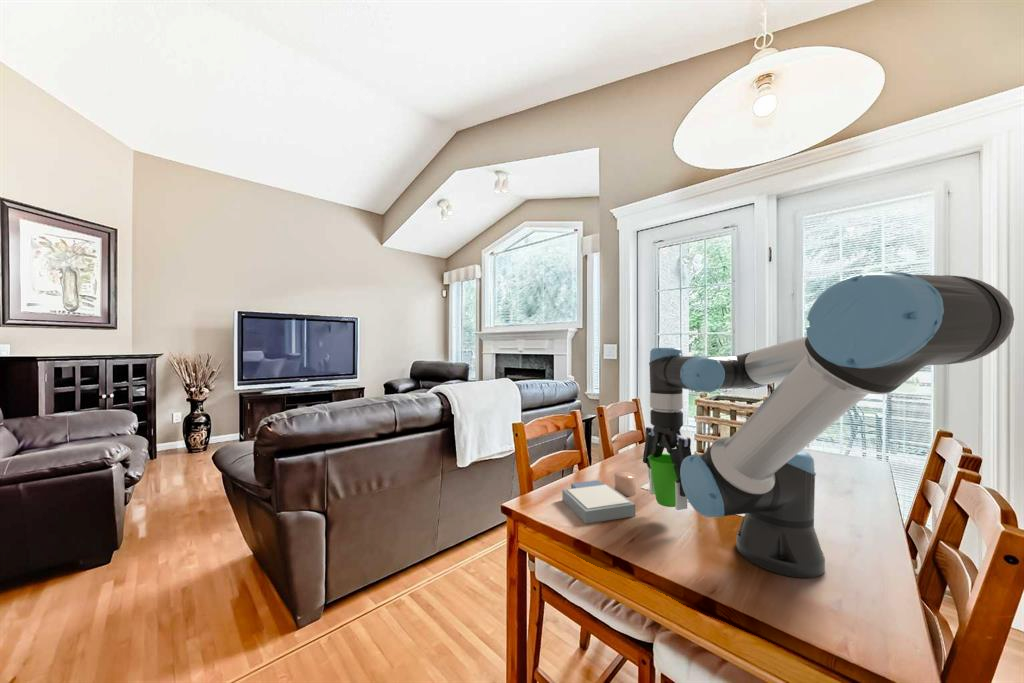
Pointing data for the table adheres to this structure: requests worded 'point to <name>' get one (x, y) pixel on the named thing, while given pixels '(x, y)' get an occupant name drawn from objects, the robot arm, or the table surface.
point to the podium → (598, 503)
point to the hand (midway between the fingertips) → (667, 500)
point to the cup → (663, 479)
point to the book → (586, 484)
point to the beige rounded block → (625, 483)
